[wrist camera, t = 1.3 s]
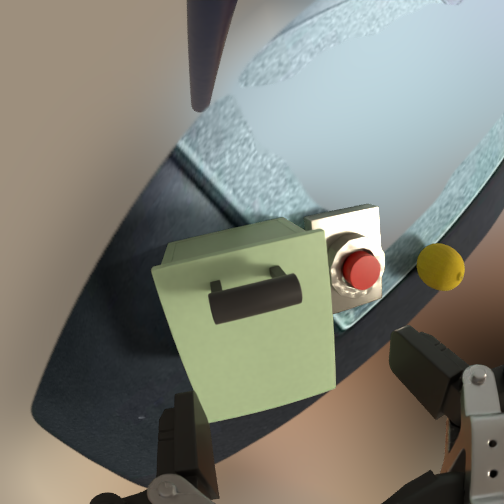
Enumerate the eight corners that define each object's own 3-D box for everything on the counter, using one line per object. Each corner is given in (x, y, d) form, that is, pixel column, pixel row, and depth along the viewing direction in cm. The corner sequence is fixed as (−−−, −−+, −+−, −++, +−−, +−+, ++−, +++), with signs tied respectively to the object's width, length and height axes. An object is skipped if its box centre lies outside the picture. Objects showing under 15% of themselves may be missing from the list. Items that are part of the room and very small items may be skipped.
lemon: (398, 258, 35) (440, 280, 27) (425, 228, 34) (468, 244, 27) (415, 285, 36) (453, 308, 29) (439, 256, 36) (479, 275, 28)
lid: (152, 266, 19) (140, 297, 15) (320, 227, 21) (355, 245, 16) (207, 417, 24) (212, 459, 19) (332, 383, 25) (355, 418, 20)
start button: (340, 255, 29) (348, 260, 27) (371, 247, 29) (380, 251, 28) (343, 287, 30) (351, 294, 28) (372, 278, 30) (381, 284, 29)
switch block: (302, 216, 31) (317, 223, 27) (367, 203, 32) (388, 208, 28) (314, 309, 34) (327, 325, 30) (372, 291, 35) (390, 304, 31)
